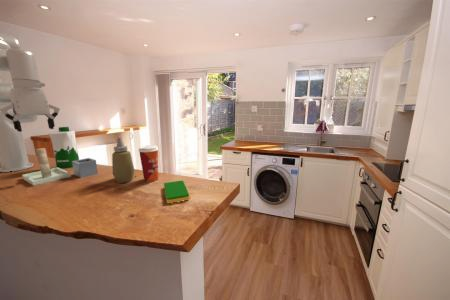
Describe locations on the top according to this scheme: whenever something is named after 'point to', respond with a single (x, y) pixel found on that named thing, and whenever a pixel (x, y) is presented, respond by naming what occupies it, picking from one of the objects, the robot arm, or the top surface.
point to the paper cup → (149, 162)
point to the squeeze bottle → (122, 163)
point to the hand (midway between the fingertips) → (36, 129)
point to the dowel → (43, 162)
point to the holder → (84, 167)
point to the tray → (37, 178)
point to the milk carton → (64, 147)
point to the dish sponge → (176, 191)
